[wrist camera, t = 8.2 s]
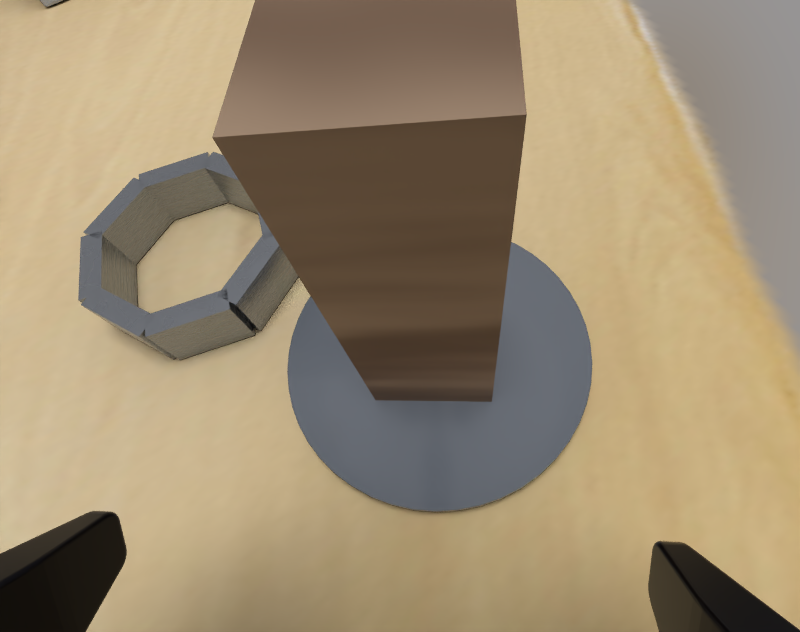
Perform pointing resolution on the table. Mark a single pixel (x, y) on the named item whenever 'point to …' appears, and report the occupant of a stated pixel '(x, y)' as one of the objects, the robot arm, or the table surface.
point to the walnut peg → (388, 175)
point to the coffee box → (49, 2)
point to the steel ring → (142, 226)
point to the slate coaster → (452, 405)
